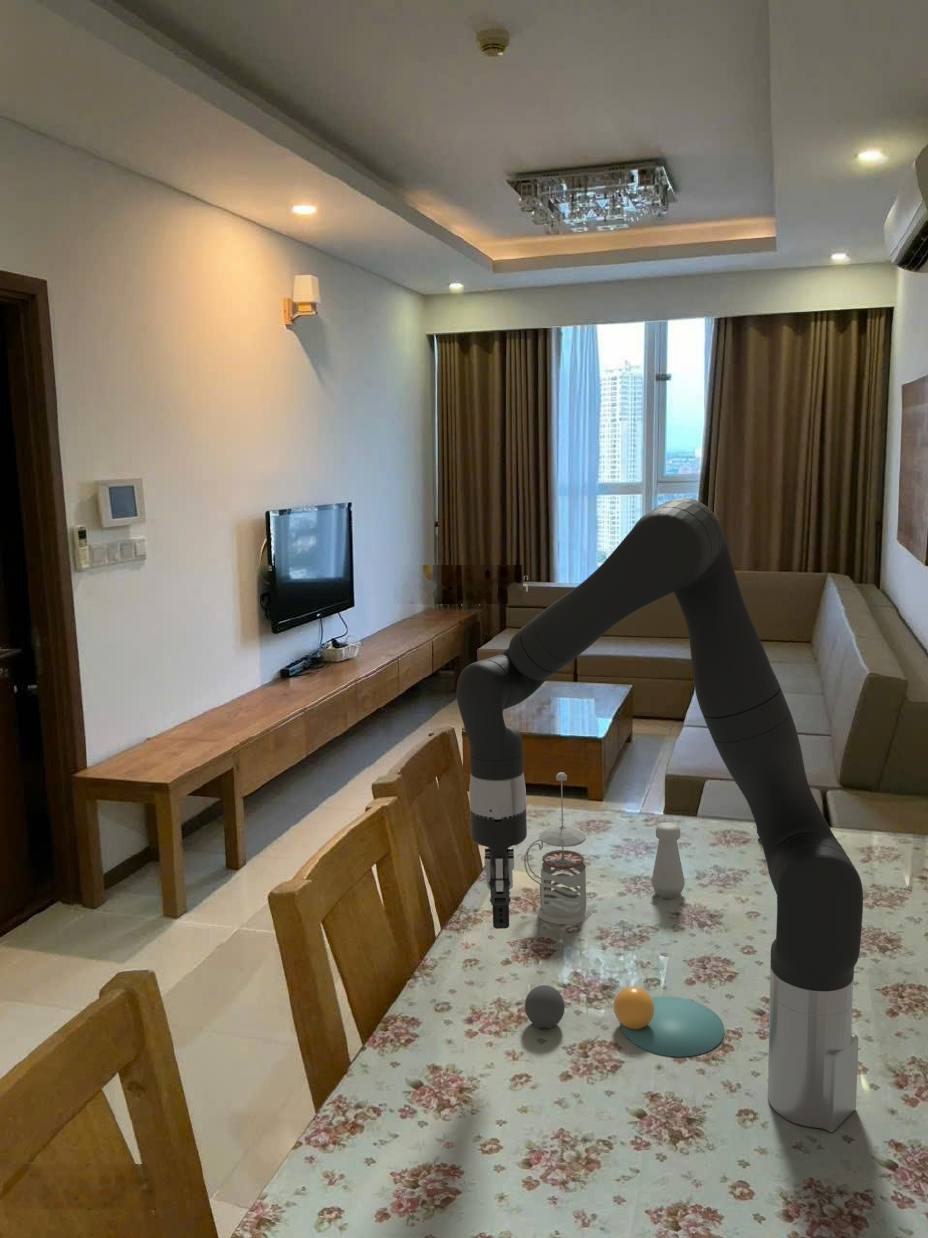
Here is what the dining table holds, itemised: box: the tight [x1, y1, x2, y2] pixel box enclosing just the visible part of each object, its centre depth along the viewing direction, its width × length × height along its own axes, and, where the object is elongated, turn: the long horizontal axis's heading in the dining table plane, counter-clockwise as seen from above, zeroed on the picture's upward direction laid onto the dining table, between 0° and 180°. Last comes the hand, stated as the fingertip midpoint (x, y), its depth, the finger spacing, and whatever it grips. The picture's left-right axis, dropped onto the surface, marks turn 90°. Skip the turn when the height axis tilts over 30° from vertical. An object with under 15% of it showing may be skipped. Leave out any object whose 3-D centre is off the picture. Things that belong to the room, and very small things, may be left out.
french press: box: [523, 771, 593, 925], centre depth 165 cm, size 10×12×25 cm
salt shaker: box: [651, 822, 686, 900], centre depth 171 cm, size 6×6×13 cm
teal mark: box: [619, 995, 725, 1058], centre depth 133 cm, size 14×14×1 cm
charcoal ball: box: [524, 984, 566, 1029], centre depth 133 cm, size 6×6×6 cm
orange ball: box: [613, 985, 654, 1029], centre depth 132 cm, size 6×6×6 cm
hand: (501, 926), depth 131 cm, fingers closed
